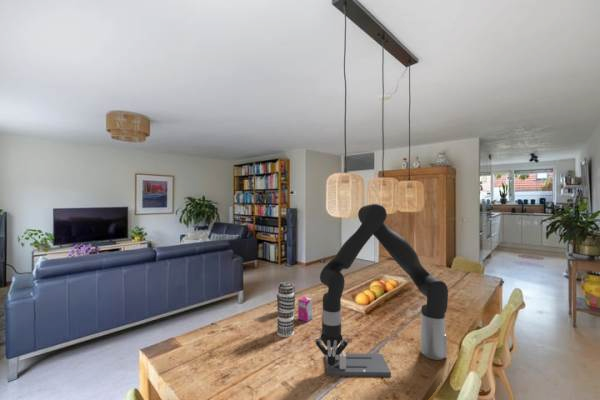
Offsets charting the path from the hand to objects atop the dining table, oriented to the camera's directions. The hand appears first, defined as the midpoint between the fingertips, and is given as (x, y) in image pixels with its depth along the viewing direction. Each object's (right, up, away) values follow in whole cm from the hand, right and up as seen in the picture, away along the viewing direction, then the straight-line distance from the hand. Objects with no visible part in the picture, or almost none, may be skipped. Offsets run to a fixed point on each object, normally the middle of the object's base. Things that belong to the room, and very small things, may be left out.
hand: (331, 364), depth 104 cm
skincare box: (-20, -2, +54) cm, 58 cm away
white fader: (+3, -1, +6) cm, 7 cm away
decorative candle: (-19, -2, +29) cm, 35 cm away
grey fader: (+4, -1, 0) cm, 4 cm away
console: (+10, -2, +3) cm, 11 cm away
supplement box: (-9, -2, +44) cm, 45 cm away
